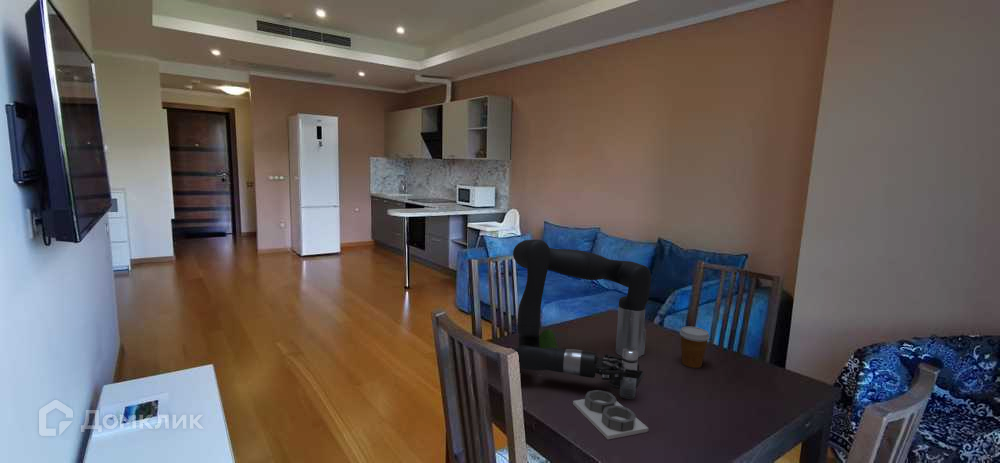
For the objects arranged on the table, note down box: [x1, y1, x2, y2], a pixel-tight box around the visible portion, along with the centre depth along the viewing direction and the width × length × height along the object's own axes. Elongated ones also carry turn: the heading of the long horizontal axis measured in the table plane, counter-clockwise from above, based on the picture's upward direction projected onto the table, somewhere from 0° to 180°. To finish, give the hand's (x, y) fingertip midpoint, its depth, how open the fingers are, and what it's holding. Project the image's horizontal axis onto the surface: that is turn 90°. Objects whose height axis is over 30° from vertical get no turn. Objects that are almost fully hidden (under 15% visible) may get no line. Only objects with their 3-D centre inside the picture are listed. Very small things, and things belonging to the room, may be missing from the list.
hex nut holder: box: [572, 389, 649, 440], centre depth 127 cm, size 12×18×4 cm, turn 19°
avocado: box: [539, 328, 559, 349], centre depth 160 cm, size 8×8×12 cm
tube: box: [619, 348, 639, 400], centre depth 139 cm, size 4×4×14 cm
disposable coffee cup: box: [679, 326, 710, 369], centre depth 163 cm, size 10×10×12 cm
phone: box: [608, 369, 645, 390], centre depth 150 cm, size 8×1×15 cm
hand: (638, 371), depth 138 cm, fingers closed on tube, 4 cm apart
